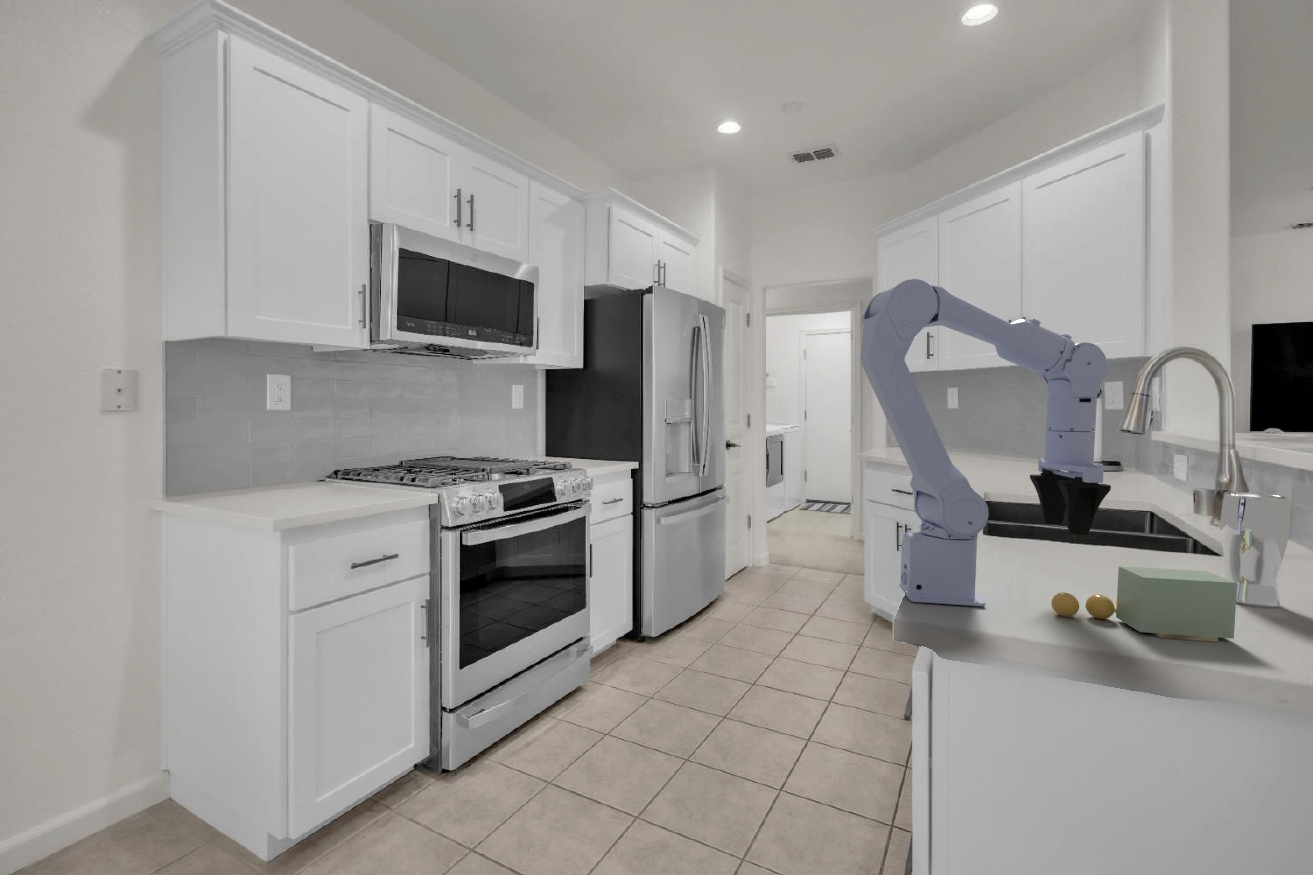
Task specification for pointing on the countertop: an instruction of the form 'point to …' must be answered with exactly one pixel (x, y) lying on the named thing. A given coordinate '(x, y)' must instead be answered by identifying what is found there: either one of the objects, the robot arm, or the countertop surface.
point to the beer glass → (1254, 544)
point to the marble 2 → (1100, 606)
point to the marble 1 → (1065, 604)
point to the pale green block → (1176, 602)
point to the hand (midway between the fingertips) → (1065, 528)
